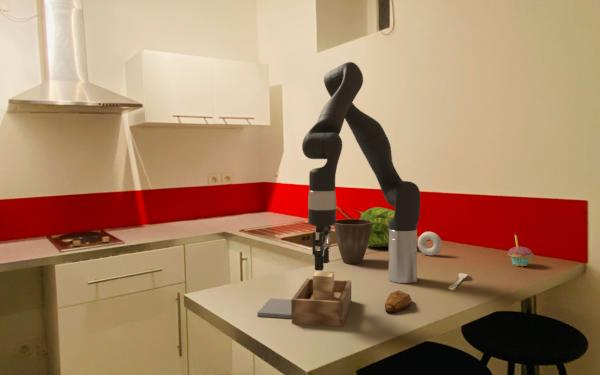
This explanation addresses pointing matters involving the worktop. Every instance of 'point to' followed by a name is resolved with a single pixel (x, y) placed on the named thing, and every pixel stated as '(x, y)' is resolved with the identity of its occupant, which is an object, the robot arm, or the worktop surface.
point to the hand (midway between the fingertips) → (322, 266)
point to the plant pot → (352, 239)
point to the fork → (459, 279)
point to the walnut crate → (321, 305)
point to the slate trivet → (276, 308)
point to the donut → (434, 238)
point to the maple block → (323, 286)
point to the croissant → (397, 301)
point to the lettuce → (379, 225)
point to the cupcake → (520, 254)
